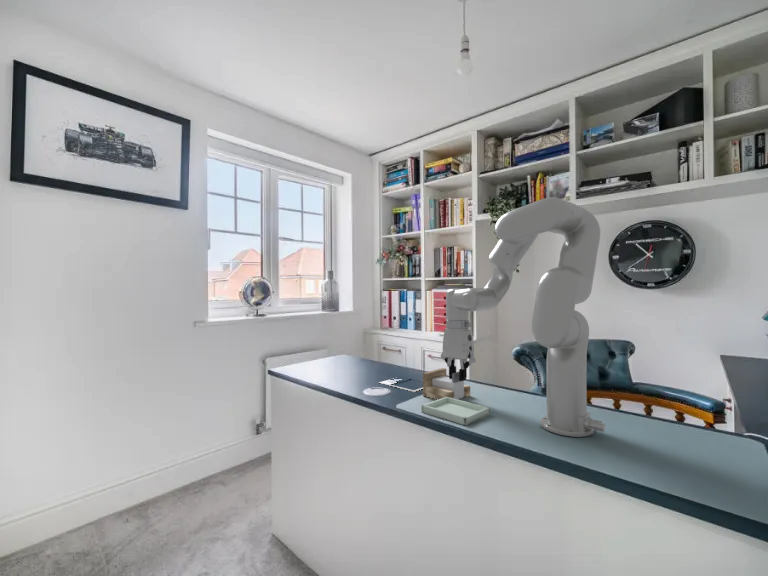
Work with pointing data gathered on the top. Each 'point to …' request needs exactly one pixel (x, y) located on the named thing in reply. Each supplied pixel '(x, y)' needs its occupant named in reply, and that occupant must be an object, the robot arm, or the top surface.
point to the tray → (456, 410)
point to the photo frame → (389, 382)
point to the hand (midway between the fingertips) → (457, 378)
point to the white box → (450, 384)
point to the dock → (438, 392)
